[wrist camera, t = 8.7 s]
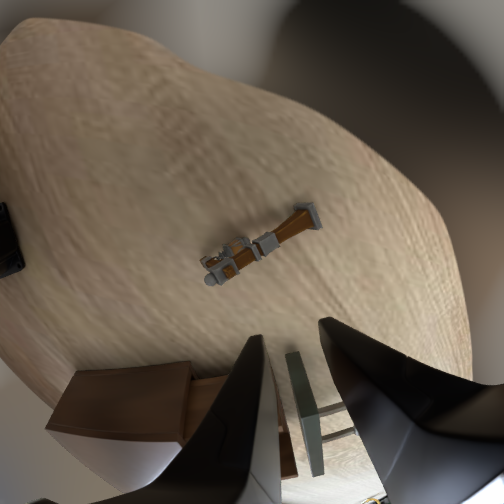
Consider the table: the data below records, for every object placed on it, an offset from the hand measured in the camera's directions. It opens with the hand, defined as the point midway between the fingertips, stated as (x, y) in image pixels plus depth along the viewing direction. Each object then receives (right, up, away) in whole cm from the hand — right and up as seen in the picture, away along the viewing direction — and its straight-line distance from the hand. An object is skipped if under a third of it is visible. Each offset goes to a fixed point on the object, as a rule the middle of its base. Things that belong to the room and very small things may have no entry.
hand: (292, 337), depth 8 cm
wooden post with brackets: (-1, +4, +11) cm, 11 cm away
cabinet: (-12, -14, +16) cm, 24 cm away
